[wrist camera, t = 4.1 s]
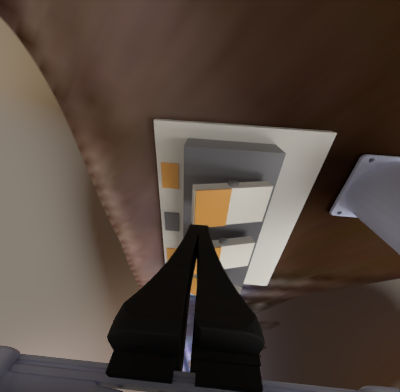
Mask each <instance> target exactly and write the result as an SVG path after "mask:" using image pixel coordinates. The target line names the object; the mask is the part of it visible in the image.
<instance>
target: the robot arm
mask: <svg viewBox="0 0 400 392" xmlns="http://www.w3.org/2000/svg"><path fill="white" fill-rule="evenodd" d="M369 159H371V160H370V161H369ZM337 212H338V213H337ZM330 214H331V215H334V216H346V217H358V218H359V219H360V220H361V221H362V222H363V223H364V224H366V225H367V226H368V227H369V228H370V229H371V230H372V231H374V232H375V233H376V234H377V235H378V236H379V237H380V238H382V239H383V240H384V241H385V242H386V243H387V244H388V245H389V246H391V247H392V248H393V249H394V250H395V251H396V252H397V253H399V254H400V157H397V156H384V155H370V154H365V155H363V156H361V157H360V158H359V160H358V162H357V164H356V166H355V167H354V169H353V171H352V173H351V174H350V176H349V178H348V180H347V181H346V183H345V185H344V187H343V188H342V190H341V192H340V194H339V195H338V197H337V199H336V201H335V202H334V204H333V206H332V208H331V209H330ZM196 259H197V291H196V303H195V314H194V327H193V341H192V354H191V368H190V372H183V371H182V369H183V359H184V349H185V339H186V329H187V319H188V310H189V300H190V292H191V286H192V280H193V275H194V270H195V265H196ZM107 338H108V341H109V343H110V345H111V347H112V348H113V350H114V352H113V354H112V357H111V359H110V362H109V363H100V362H91V361H81V360H71V359H63V358H53V357H45V356H35V355H26V354H20V352H19V351H18V350H16V349H14V348H12V347H8V346H0V392H123V391H120V390H116V389H112V388H119V389H127V390H136V391H145V392H400V390H398V389H397V388H390V387H380V386H365V387H362V388H360V389H359V391H358V390H349V389H339V388H331V387H321V386H312V385H303V384H294V383H284V382H275V381H266V380H261V373H260V366H261V363H260V357H259V353H260V352H261V350H262V349H263V347H264V345H265V342H264V337H263V333H262V330H261V327H260V324H259V322H258V319H257V317H256V315H255V314H254V312H253V311H252V310H251V309H250V307H249V306H248V305H247V304H246V302H245V301H244V300H243V298H242V297H241V295H240V294H239V293H238V291H237V290H236V288H235V286H234V285H233V283H232V282H231V280H230V279H229V277H228V275H227V273H226V272H225V270H224V268H223V266H222V264H221V262H220V260H219V258H218V255H217V253H216V251H215V248H214V245H213V242H212V239H211V236H210V231H209V226H207V225H195V224H191V225H189V228H188V230H187V232H186V234H185V236H184V238H183V240H182V241H181V243H180V245H179V246H178V248H177V249H176V251H175V252H174V253H173V255H172V256H171V257H170V259H169V260H168V261H167V262H166V264H165V265H164V266H163V267H162V268H161V269H160V270H159V272H158V273H157V274H156V275H155V276H154V277H153V278H152V279H151V280H150V281H149V282H148V283H147V284H145V285H144V286H143V287H142V288H141V289H140V290H139V291H138V292H137V293H136V294H134V295H133V296H132V297H131V298H129V299H128V300H127V301H126V302H125V303H124V304H123V305H122V307H121V309H120V310H119V312H118V314H117V315H116V317H115V319H114V321H113V324H112V326H111V328H110V331H109V334H108V336H107ZM109 387H110V388H109Z"/></svg>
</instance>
